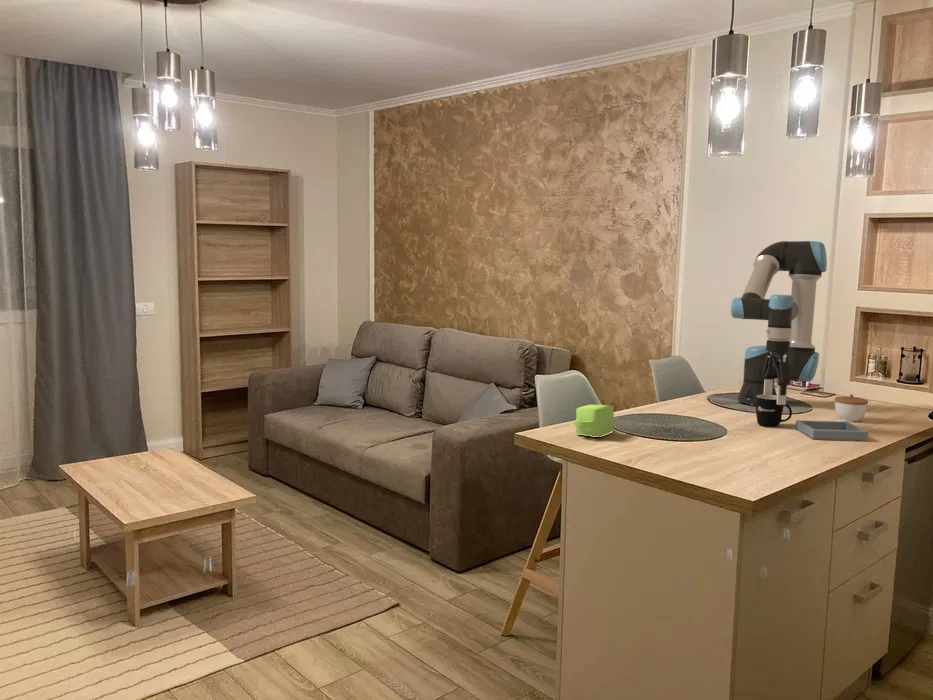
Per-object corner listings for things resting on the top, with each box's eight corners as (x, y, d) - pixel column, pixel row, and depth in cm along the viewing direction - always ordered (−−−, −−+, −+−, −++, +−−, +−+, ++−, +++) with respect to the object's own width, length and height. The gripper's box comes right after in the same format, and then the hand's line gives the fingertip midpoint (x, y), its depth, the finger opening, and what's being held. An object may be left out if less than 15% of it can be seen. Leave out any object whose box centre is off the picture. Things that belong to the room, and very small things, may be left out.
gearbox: (592, 428, 254) (592, 401, 254) (619, 431, 249) (619, 403, 248) (567, 437, 240) (567, 408, 239) (595, 440, 234) (595, 410, 233)
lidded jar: (863, 418, 275) (865, 393, 274) (868, 424, 265) (871, 398, 264) (831, 415, 278) (833, 391, 277) (835, 421, 268) (837, 396, 267)
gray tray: (795, 428, 256) (796, 420, 255) (846, 430, 255) (847, 421, 254) (812, 439, 241) (813, 430, 240) (867, 441, 240) (868, 432, 239)
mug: (750, 425, 260) (752, 396, 259) (759, 421, 267) (761, 393, 266) (786, 431, 252) (788, 401, 251) (794, 426, 259) (796, 397, 258)
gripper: (755, 336, 268) (751, 394, 271) (780, 343, 244) (775, 407, 246) (777, 336, 268) (772, 395, 270) (803, 343, 243) (798, 408, 246)
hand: (774, 401), depth 258 cm, fingers open, 13 cm apart
